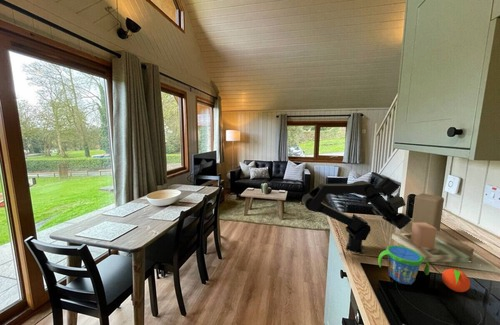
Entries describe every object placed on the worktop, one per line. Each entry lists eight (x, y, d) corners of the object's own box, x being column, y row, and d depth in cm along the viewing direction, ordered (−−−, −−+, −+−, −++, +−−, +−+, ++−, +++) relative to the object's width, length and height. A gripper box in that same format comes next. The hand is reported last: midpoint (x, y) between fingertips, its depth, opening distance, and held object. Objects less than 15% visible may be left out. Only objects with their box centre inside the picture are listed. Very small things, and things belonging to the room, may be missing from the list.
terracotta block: (420, 247, 95) (423, 228, 93) (410, 240, 101) (412, 222, 99) (433, 247, 95) (436, 228, 93) (423, 240, 101) (425, 222, 99)
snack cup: (421, 275, 80) (425, 249, 78) (433, 294, 70) (437, 266, 69) (374, 265, 85) (376, 241, 84) (379, 282, 76) (382, 255, 74)
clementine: (469, 302, 67) (473, 282, 66) (440, 291, 72) (443, 272, 71) (467, 289, 73) (471, 270, 72) (440, 279, 78) (443, 261, 77)
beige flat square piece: (423, 261, 88) (425, 248, 87) (391, 238, 108) (392, 226, 107) (471, 262, 88) (473, 248, 87) (430, 238, 108) (432, 227, 107)
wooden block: (439, 233, 114) (444, 197, 111) (433, 238, 108) (438, 200, 105) (417, 226, 122) (421, 192, 119) (410, 230, 116) (414, 195, 114)
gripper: (409, 197, 85) (433, 223, 86) (380, 185, 103) (400, 207, 105) (387, 216, 86) (411, 241, 87) (363, 201, 104) (383, 222, 106)
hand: (401, 226), depth 96 cm, fingers closed
